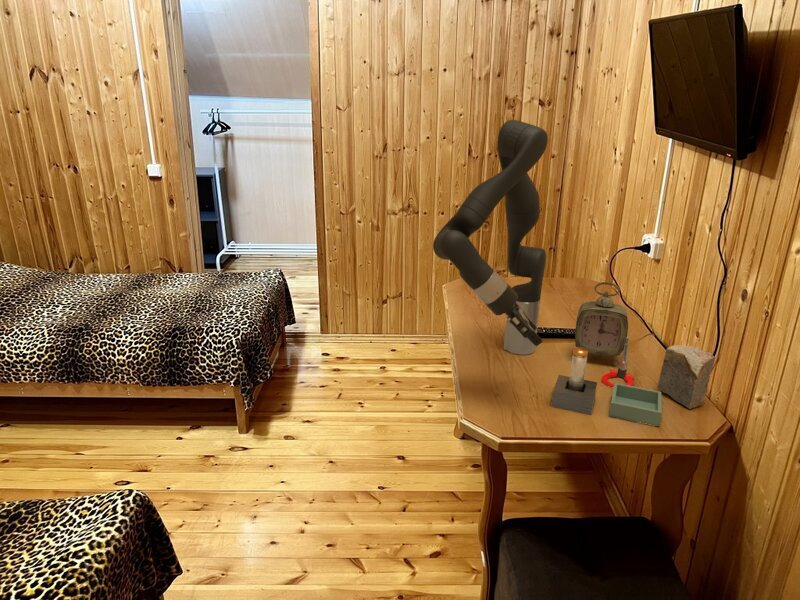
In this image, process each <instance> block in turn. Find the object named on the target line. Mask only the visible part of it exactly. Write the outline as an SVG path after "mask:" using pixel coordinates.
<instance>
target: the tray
mask: <svg viewBox="0 0 800 600" xmlns="http://www.w3.org/2000/svg"><path fill="white" fill-rule="evenodd" d="M613 384H614V388H612V395H611V402H610V408H609V413H608V414H609V415H608V417H609V418H613V417H614V418H613V419H618V418H619V419H618V420H623V419H625V420H624V421H627V420H629V422H632V421H634V422H633V423H636V422H641V423H647V424H651V425H655V426H659V427H660V423H661V417H662V414H663V413H662V412H663V411H662V405H663V404H662V391H660V390H659V391H658V390H654V389H649V388H643V387H639V386H634V385H633V386H629V385H625V384H622V383H618V382H614V383H613ZM641 423H640V424H641ZM655 426H654V427H655Z"/></svg>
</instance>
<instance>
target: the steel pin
mask: <svg viewBox="0 0 800 600" xmlns="http://www.w3.org/2000/svg"><path fill="white" fill-rule="evenodd" d="M572 349H573V350H572V355H571V356H572V357H571V364H570V371H569V376H568V377H569V385H568V389H569V390H574V391H579V392H582V389H583V382H584V380H585V374H586V368H587V361H588V354H589V353H588V350H587V349H585V348H582V347H576V346H575V347H574V348H572Z"/></svg>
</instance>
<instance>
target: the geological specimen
mask: <svg viewBox="0 0 800 600" xmlns="http://www.w3.org/2000/svg"><path fill="white" fill-rule="evenodd" d="M715 360H716V356H714V355H713V353H711V352H709V350H708V351H706V350H703V348H701V347H696V346H695V345H689V346H688V345H684V344H678V345H670V346H669V347H666V350H665V355H664V358H663V363H662V366H661V370H660V374H659V378H658V382H657V388H658V389H659V391H660V392H661V393H664V394H667V395H668V396H670V397H671V399H673V400H675V401H676V402H677V403H679V404H681V405H683V406H685V407H686V408H687V409H690V410H691V409H693V408H696V407H699V406H701V405H702V404H704V402H705V398H706V394H707V390H708V386H709V385H708V384H709V382H710V379H711V376H710V374H712V372H713V367H714V363H715Z"/></svg>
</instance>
